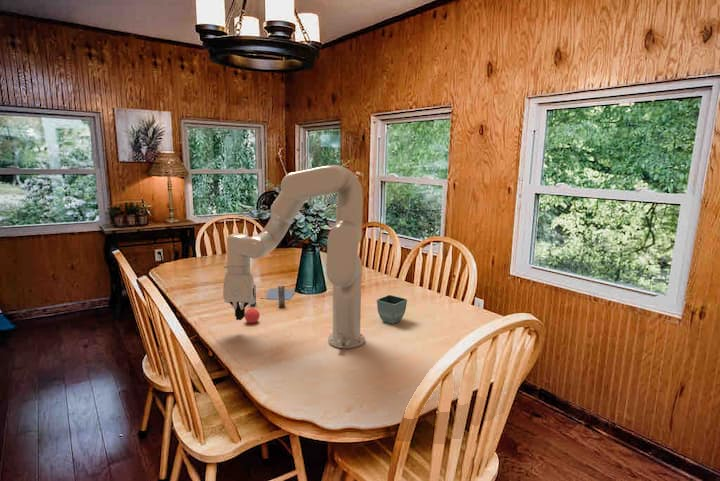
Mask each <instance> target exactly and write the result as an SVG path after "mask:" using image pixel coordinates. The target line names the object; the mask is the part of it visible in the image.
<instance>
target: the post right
mask: <svg viewBox="0 0 720 481" xmlns="http://www.w3.org/2000/svg"><path fill="white" fill-rule="evenodd" d="M277 289H278V297H279V300H278V308H279V309H283V308H286V300H285V289H286V288H285V285H278V287H277Z"/></svg>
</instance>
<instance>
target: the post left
mask: <svg viewBox="0 0 720 481" xmlns="http://www.w3.org/2000/svg"><path fill="white" fill-rule="evenodd" d="M254 287H255V297H254V300H255V303H254V304H251V305H249V306H250V307H251V306H254V307H257V291H256V290H257V289H256V284H254Z"/></svg>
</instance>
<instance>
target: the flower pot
mask: <svg viewBox="0 0 720 481" xmlns="http://www.w3.org/2000/svg"><path fill="white" fill-rule="evenodd" d="M407 304H408V299H407V298H405V297H400V296H395V295H392V294H388V295H386V296H383V297H380V298H378V299H376V305H377V306H376V307H377V313H378V315H379V318H380V319H381V321H382V322H385V323H387V324H391V325H395V324H397V323H398V322H400V321H401V320H402V319H403V317H404V316H405V313H406V309H407Z"/></svg>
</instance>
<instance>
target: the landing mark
mask: <svg viewBox="0 0 720 481" xmlns="http://www.w3.org/2000/svg"><path fill="white" fill-rule="evenodd" d="M269 289H270V290H269V293H268V292H266V291H265V292H266V293H268V294H266V295H267V296H266V297H267V299H266V300H278V301H279V297H278V288H269ZM294 290H295V289H286V288H285V301H289V300H291V298H292V297H293V296H294V295H295V294H294V293H296V292H294Z"/></svg>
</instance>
